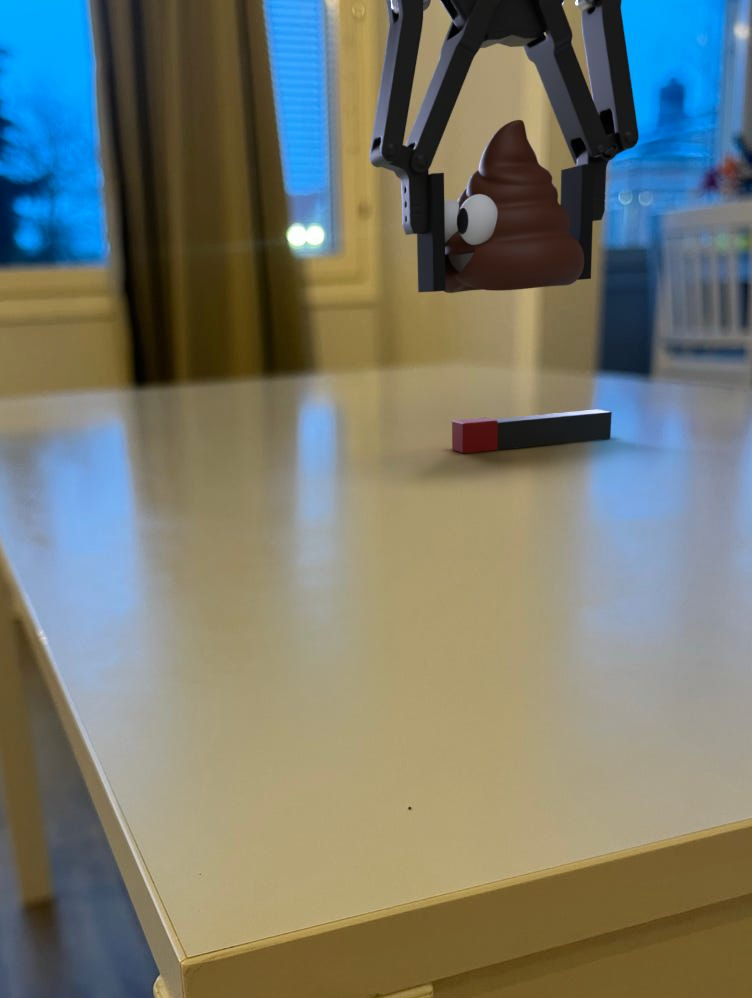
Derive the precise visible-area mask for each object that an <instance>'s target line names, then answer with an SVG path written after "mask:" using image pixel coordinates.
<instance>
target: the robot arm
mask: <svg viewBox="0 0 752 998" xmlns="http://www.w3.org/2000/svg"><path fill="white" fill-rule="evenodd" d="M431 1H432V0H385V3H386V9H387V10H386V11H387V16H388V24H389V25H388V32H387V39H386V44H385V51H384V58H383V65H382V71H381V76H380V83H379V90H378V95H377V103H376V108H375V109H376V110H375V114H374V121H373V128H372V134H371V142H370V147H369V153H368V154H369V155H368V156H369V157H368V158H369V162H370V164H371V165H372V166H373V167H375V168H383V169H386V170H388V171H391V172H393V173H394V174H395V177H397V178H398V179H399V180H400V186H401V187H400V188H401V219H402V220H401V222H402V224H401V225H402V228H403V231H404V234H405V235H406V236H407V235H408V236H409V235H410V236H411V235H416V245H417V246H416V252H417V254H416V255H417V257H416V258H417V292H418V293H434V292H435V293H436V292H444V291H446V283H445V211H444V201H445V172H433V173H429V171H430V168H431V166H432V164H433V161H434V159H435V156H436V153H437V151H438V149H439V146H440V144H441V141H442V138H443V136H444V134H445V131H446V129H447V126H448V123H449V121H450V118H451V116H452V113H453V111H454V108H455V106H456V103H457V101H458V98H459V96H460V93H461V90H462V89H463V86H464V84H465V80H466V78H467V76H468V73H469V71H470V68H471V65H472V63H473V62H474V61H473V60H474V58H475V57H476V55H477V53H478V52H479V51H480V49H487V48H489V47H491V46H494V45H498V44H499V45H502V46H506V47H508V48H509V47H510V48H515V47H516V48H518V47H519V48H520V47H523V49H524V52H525V55H526V57H527V59H528V60H529V61H530V62H532V63H533V64H534V66H535V68H536V71H537V74H538V75H539V79H540V81H541V83H542V86H543V88H544V91H545V93H546V95H547V99H548V101H549V103H550V106H551V108H552V111H553V113H554V116H555V118H556V121H557V123H558V126H559V129H560V131H561V133H562V137H563V138H564V141H565V143H566V146H567V148H568V151H569V154H570V156H571V158H572V160H573V163H574V165H575V166H572V167H568V168H564V169H561V170H560V205H562V206H563V207H564V208H565V209H566V211H567V213H568V215H569V219H570V228H569V233H570V235H571V236H572V237H574V238H575V239H576V240H577V241H578V242H579V244H580V245H581V247H582V250H583V254H584V267H583V271H582V273H581V275H580V277H579V278H578V279H577V281H580V280H581V281H582V280H591V279H592V261H593V259H592V255H593V224H594V223H593V222H597V221H602V220H603V217H604V215H605V211H606V186H607V185H606V183H607V166H608V165H609V164H608V163H609V161H611V160H614V158H616V156H617V155H619V154H621V153H623V152H625V151H627V150H631V149H633V148H634V147H635V146H636V145H638V141H639V135H640V134H639V127H638V121H637V114H636V107H635V98H634V91H633V84H632V79H631V77H632V76H631V71H630V64H629V56H628V48H627V42H626V36H625V28H624V21H623V14H622V1H623V0H575V4H574V5H575V7H576V8H577V9H580V10H581V19H580V20H581V22H580V23H581V34H582V39H583V47H584V52H585V59H586V65H587V72H588V78H589V86H590V88H589V86H588V83H587V80H586V78H585V75H584V73H583V70H582V67H581V65H580V62H579V59H578V57H577V55H576V52H575V48H574V47H573V43H572V40H573V31H572V28H571V25H570V23H569V20H568V17H567V15H566V12H565V9H564V6H563V4H564V3H565V2H566V1H565V0H439V1H440V3H441V4H442V6H443V8H444V9H445V11H446V13H447V14H448V16H449V17H450V19H451V22H450V25H449V27H448V30H447V32H446V35H445V37H444V39H443V43H442V46H441V48H440V50H439V59H438V62H437V64H436V66H435V69H434V71H433V75H432V76H431V80H430V82H429V84H428V87H427V90H426V92H425V94H424V97H423V100H422V102H421V105H420V107H419V110H418V113H417V115H416V117H415V121H414V123H413V125H412V128H411V130H410V133H409V135H408V138H407V141H406V143H405V145H404V141H405V135H406V128H407V122H408V116H409V110H410V105H411V97H412V92H413V87H414V79H415V74H416V69H417V61H418V55H419V50H420V43H421V37H422V30H423V23H424V12H425V11H426V10H427V9H428V8H430V5H431Z"/></svg>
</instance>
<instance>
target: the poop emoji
mask: <svg viewBox="0 0 752 998" xmlns="http://www.w3.org/2000/svg"><path fill="white" fill-rule="evenodd" d="M444 211H445V283H446V291H443V292H444V293H446V294H447V293H448V294H454V293H455V294H456V293H461V292H470V291H495V292H496V291H498V292H499V291H517V290H518V291H519V290H528V289H537V288H546V287H547V288H548V287H561V286H562V287H563V286H569V285H572V284H574V283H576V282H577V281H578V280H577V279H578V278H579V277H580V275H581V273H582V271H583V267H584V254H583V250H582V247H581V245H580V244H579V242H578V241H577V240H576V239H575V238H574V237H572V236H571V235H570V233H569V228H570V219H569V215H568V213H567V211H566V209H565V208H564V207H563V206H562V205H561V203H559V192H558V189H557V187H556V185H555V184H554V183H553V174H552V173H551V172H550V171H549V170H548V169H547V168H546V167H543V166H542V165H541V163H539V160H538V157H537V154H536V152H535V150H534V149H533V147H532V145H531V143H530V141H529V139H528V135H527V131H526V124H525V123H524V121H523V120H522V119H516V120H512V121H510V122H507V123H506V124H504V125H503V126H501V127H500V128H499V129H498V130H497V131H496V132H495V133H494V134H493V136H492V137H491V138H490V140H489V141H488V143H487V145H486V147H485V148H484V151H483V152H482V155H481V158H480V160H479V165H478V169H477V170H476V171H475V172H473V174H471V176H470V177H469V179H468V182H467V186H466V188H465V189H464V190H463V191H462V192H461V193H460V195H459V197H458V199H457V200H453V199H447V200H444Z"/></svg>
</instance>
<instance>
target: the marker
mask: <svg viewBox="0 0 752 998" xmlns="http://www.w3.org/2000/svg"><path fill="white" fill-rule="evenodd" d="M612 413H613V412H612V411H609V410H603V409H587V410H576V411H567V412H566V411H565V412H555V413H544V414H535V415H534V414H533V415H523V416H512V417H511V416H510V417H502V418H490V417H487V416H485V417H474V418H464V419H454V420H452V421H451V449H452V450H453V451H455V452H458V453H461V454H473V453H474V454H475V453H483V452H493V451H501V450H511V449H519V448H520V449H522V448H531V447H541V446H543V447H544V446H552V445H562V444H571V443H582V442H592V441H593V442H594V441H601V440H610V439H611V435H612V434H611V433H612V432H611V431H612V415H613V414H612Z"/></svg>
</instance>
